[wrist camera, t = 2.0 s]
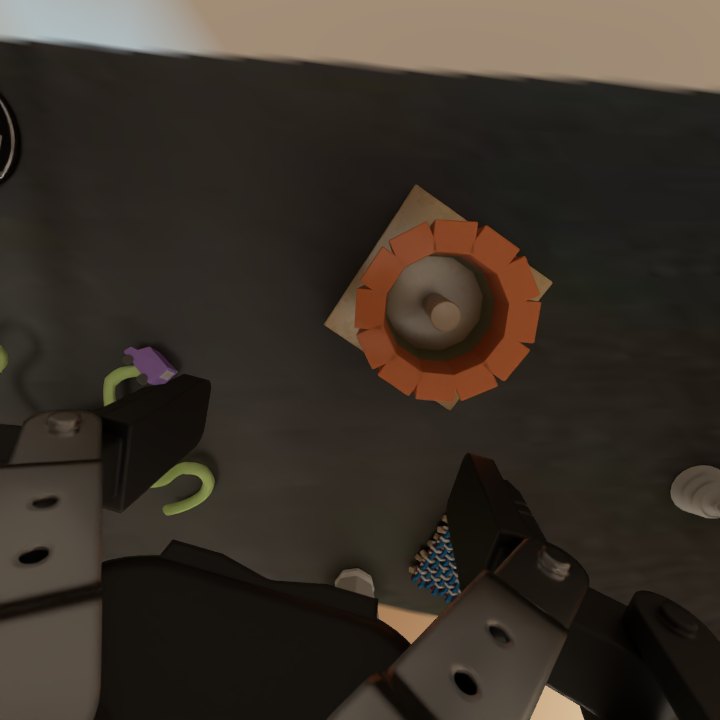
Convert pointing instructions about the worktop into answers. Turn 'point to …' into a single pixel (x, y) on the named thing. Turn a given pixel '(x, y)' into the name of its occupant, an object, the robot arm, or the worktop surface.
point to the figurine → (154, 371)
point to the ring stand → (423, 288)
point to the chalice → (698, 491)
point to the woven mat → (438, 566)
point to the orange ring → (496, 347)
